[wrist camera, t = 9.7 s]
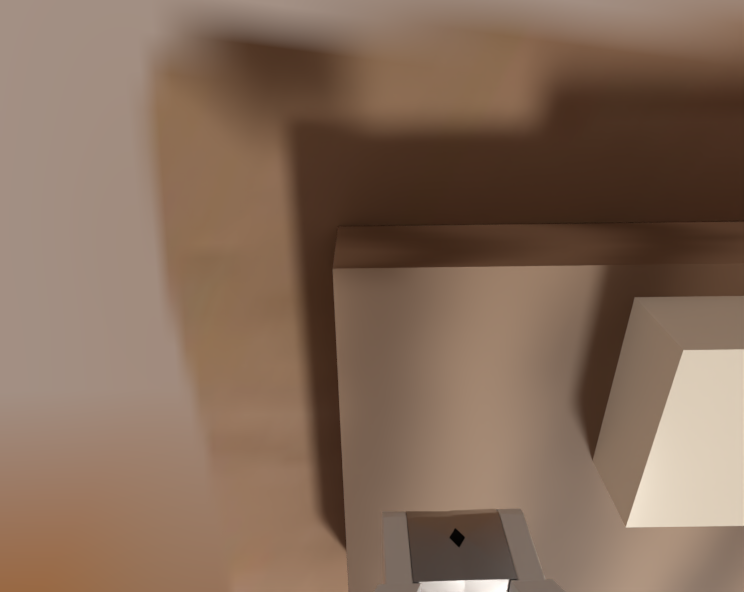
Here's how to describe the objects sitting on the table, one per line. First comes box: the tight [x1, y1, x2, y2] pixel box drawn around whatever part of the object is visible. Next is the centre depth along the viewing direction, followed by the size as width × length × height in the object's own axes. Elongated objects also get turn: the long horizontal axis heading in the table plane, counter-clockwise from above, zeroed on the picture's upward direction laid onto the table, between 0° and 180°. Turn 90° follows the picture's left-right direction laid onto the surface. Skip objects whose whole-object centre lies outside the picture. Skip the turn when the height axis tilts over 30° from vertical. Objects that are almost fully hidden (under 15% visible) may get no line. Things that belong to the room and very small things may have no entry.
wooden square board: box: [333, 222, 744, 592], centre depth 19 cm, size 16×16×3 cm
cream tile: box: [593, 296, 744, 528], centre depth 15 cm, size 6×6×2 cm
